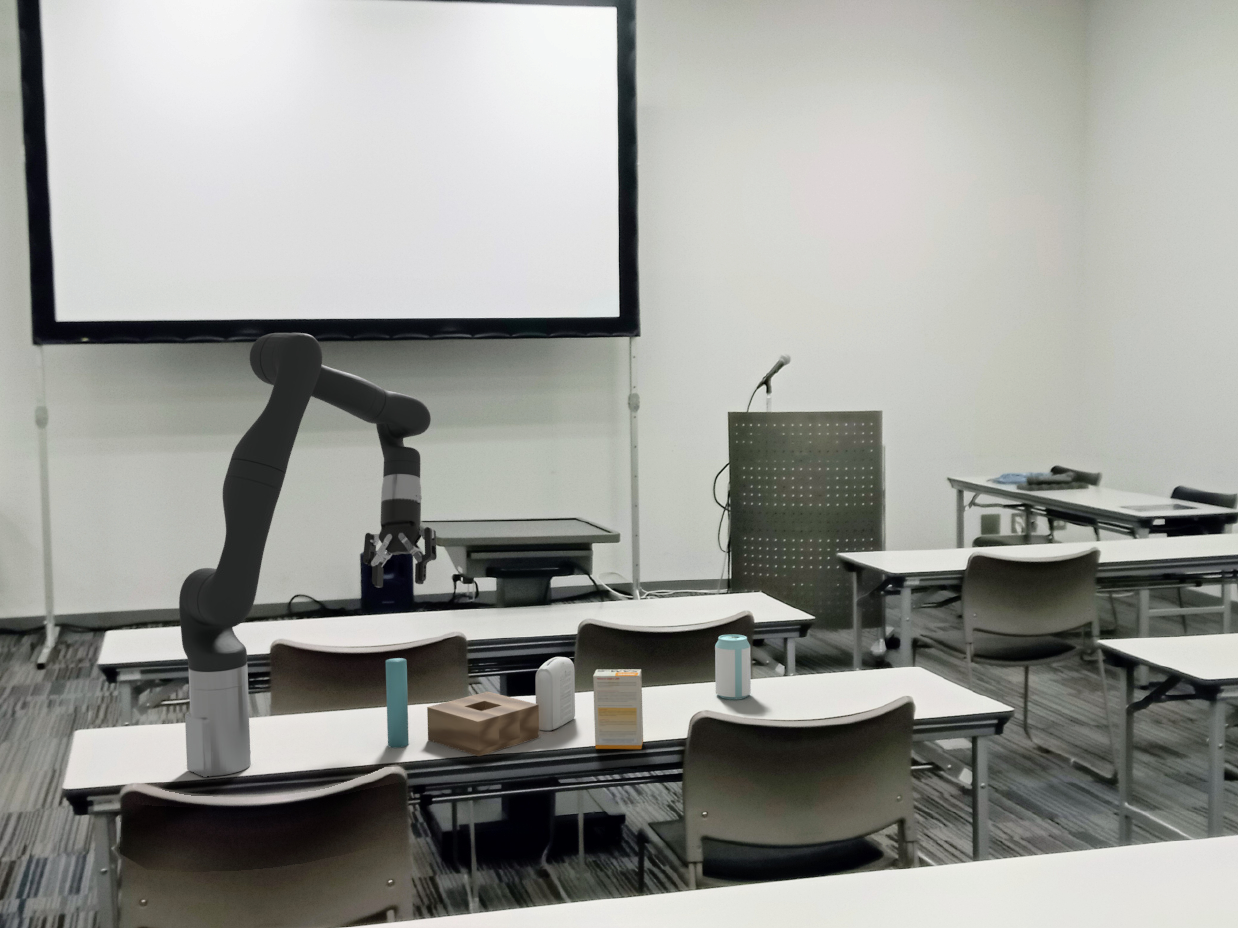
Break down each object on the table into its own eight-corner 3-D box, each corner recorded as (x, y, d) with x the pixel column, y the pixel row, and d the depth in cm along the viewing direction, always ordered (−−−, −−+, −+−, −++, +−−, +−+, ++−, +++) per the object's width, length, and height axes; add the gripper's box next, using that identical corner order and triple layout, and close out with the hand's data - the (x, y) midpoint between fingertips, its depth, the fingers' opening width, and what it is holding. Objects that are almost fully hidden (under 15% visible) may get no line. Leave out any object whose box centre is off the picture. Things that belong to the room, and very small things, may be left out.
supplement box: (643, 741, 203) (642, 668, 202) (641, 750, 198) (640, 675, 198) (597, 741, 204) (596, 668, 203) (593, 749, 199) (592, 674, 198)
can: (711, 692, 236) (711, 634, 235) (744, 690, 237) (744, 632, 236) (720, 701, 229) (720, 641, 228) (755, 699, 230) (754, 639, 229)
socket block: (478, 756, 196) (477, 721, 196) (428, 740, 206) (427, 706, 205) (539, 737, 206) (538, 704, 206) (488, 722, 216) (487, 691, 216)
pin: (395, 748, 201) (393, 663, 200) (383, 744, 203) (381, 660, 202) (412, 744, 204) (410, 660, 203) (400, 740, 206) (398, 657, 205)
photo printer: (557, 715, 220) (556, 651, 220) (578, 717, 219) (577, 653, 218) (532, 730, 211) (531, 663, 210) (553, 732, 209) (552, 665, 209)
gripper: (358, 500, 219) (354, 585, 215) (425, 493, 215) (424, 579, 211) (377, 509, 226) (374, 591, 222) (443, 502, 222) (442, 585, 218)
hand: (398, 585), depth 216 cm, fingers open, 8 cm apart
